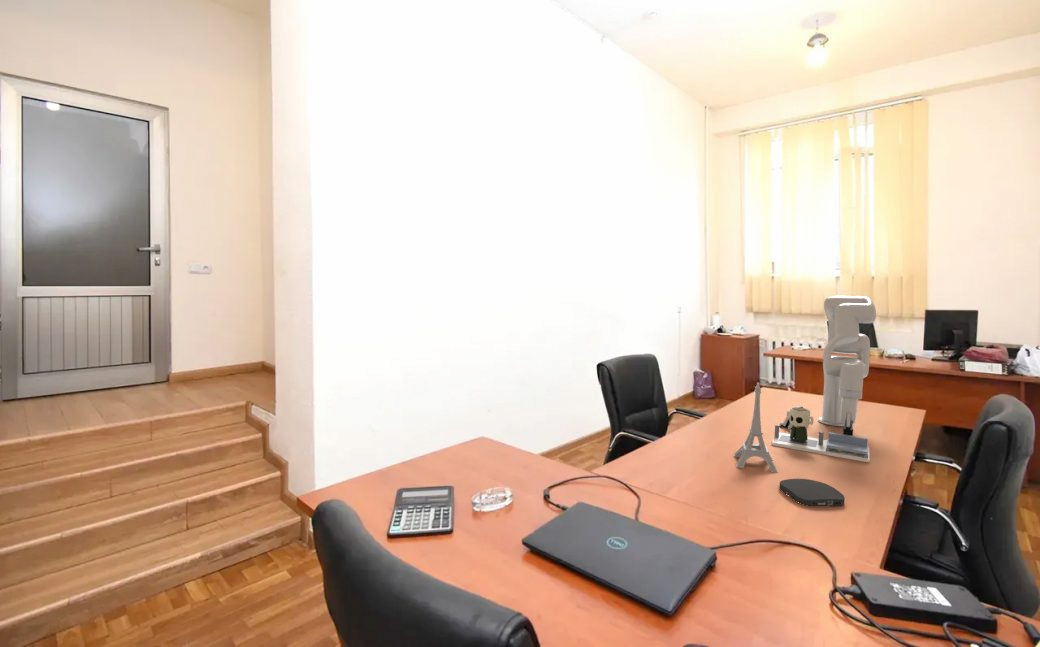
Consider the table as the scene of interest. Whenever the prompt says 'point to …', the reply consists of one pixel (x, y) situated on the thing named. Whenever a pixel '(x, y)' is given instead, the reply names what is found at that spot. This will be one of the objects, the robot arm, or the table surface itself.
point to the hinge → (787, 422)
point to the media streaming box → (812, 492)
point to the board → (815, 446)
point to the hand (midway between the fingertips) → (847, 438)
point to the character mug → (799, 423)
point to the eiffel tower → (755, 431)
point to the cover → (847, 443)
